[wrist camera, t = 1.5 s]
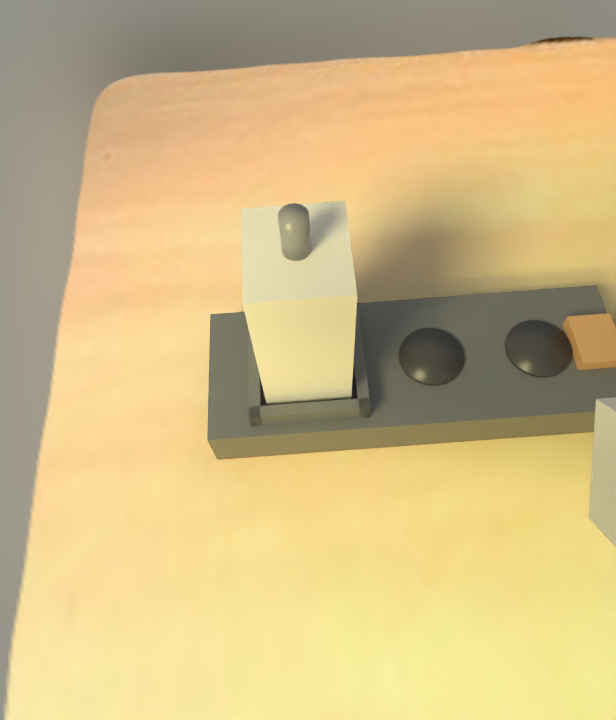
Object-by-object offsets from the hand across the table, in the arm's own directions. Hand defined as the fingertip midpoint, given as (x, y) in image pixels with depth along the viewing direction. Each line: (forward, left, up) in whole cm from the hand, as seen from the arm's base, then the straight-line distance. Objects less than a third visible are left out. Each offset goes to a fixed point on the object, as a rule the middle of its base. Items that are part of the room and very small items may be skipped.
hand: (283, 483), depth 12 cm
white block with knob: (-1, -12, -17) cm, 21 cm away
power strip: (-7, -12, -20) cm, 24 cm away
